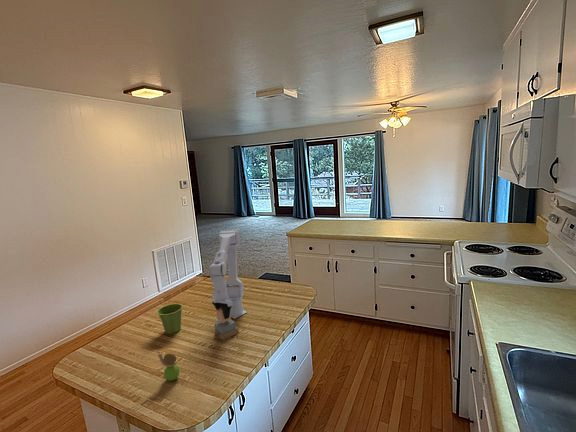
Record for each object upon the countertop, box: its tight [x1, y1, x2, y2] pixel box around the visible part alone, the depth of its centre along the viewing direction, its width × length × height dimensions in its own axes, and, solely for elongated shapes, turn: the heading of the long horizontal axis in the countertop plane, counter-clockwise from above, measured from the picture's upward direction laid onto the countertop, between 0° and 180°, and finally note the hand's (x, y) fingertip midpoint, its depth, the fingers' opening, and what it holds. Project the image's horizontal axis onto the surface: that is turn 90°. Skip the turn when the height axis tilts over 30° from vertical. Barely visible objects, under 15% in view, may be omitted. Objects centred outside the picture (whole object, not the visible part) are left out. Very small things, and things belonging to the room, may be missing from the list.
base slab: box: [213, 326, 240, 341], centre depth 142 cm, size 8×8×3 cm
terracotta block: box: [215, 308, 232, 323], centre depth 141 cm, size 4×4×5 cm
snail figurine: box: [157, 350, 180, 382], centre depth 113 cm, size 5×6×12 cm
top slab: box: [214, 318, 237, 334], centre depth 141 cm, size 7×7×3 cm
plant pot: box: [156, 303, 184, 335], centre depth 149 cm, size 12×12×11 cm
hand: (224, 316), depth 141 cm, fingers closed on terracotta block, 4 cm apart
